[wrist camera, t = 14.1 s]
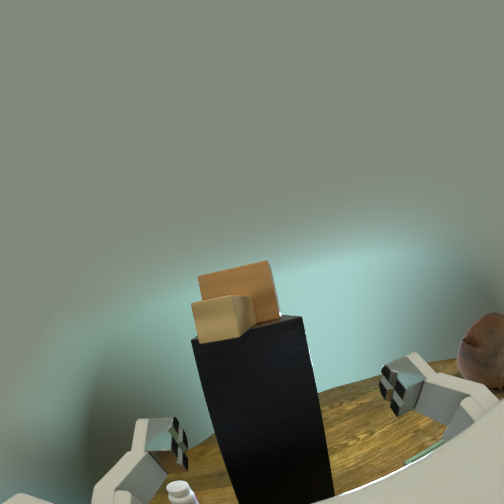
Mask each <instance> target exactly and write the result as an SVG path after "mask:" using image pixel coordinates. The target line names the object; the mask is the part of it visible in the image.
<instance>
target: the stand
mask: <svg viewBox="0 0 504 504" xmlns="http://www.w3.org/2000/svg"><path fill="white" fill-rule="evenodd" d="M191 343H192V348H193V352H194V356H195V360H196V364H197V369H198V373H199V377H200V381H201V385H202V388H203V392H204V396H205V399H206V403H207V407H208V411H209V414H210V418H211V421H212V424H213V428H214V431H215V435H216V438H217V441H218V444H219V447H220V451H221V454H222V457H223V460H224V463H225V466H226V469H227V472H228V475H229V477H230V480H231V483H232V486H233V489H234V491H235V494H236V497H237V500H238V502H239V504H312V503H315V502H318V501H322V500H325V499H328V498H331V497H334V496H335V494H334V487H333V480H332V474H331V467H330V461H329V455H328V449H327V443H326V437H325V431H324V426H323V420H322V414H321V409H320V403H319V398H318V393H317V388H316V383H315V377H314V372H313V367H312V362H311V358H310V352H309V348H308V343H307V338H306V333H305V329H304V324H303V319H302V317H300V316H289V315H281V317H280V318H279V319H274V320H270V321H265V322H260V323H256V324H255V325H254V326H253V327H251V328H250V329H249V330H248V331H247V332H245V333H244V334H243V335H242V336H240V337H239V338H233V339H228V340H222V341H216V342H210V343H204V344H200V343H199V339H198V336H196V337H195V338H193V339H192V340H191Z"/></svg>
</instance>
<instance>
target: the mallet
mask: <svg viewBox="0 0 504 504" xmlns="http://www.w3.org/2000/svg"><path fill="white" fill-rule="evenodd" d="M198 281H199V286H200V291H201V296H202V301H199V302H195V303H192V304H191V306H192V311H193V316H194V320H195V325H196V330H197V335H198V339H199V343H200V344H204V343H210V342H216V341H222V340H228V339H233V338H239V337H240V336H242V335H243V334H244V333H245V332H247V331H248V330H249V329H250V328H251V327H253V326H254V325H255V324H256V323H260V322H265V321H270V320H274V319H279V318H280V317H281V311H280V307H279V302H278V298H277V293H276V289H275V284H274V280H273V275H272V271H271V267H270V265H269V263H268V261H262V262H258V263H253V264H249V265H245V266H240V267H236V268H232V269H227V270H223V271H218V272H214V273H210V274H205V275H201V276H198Z"/></svg>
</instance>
